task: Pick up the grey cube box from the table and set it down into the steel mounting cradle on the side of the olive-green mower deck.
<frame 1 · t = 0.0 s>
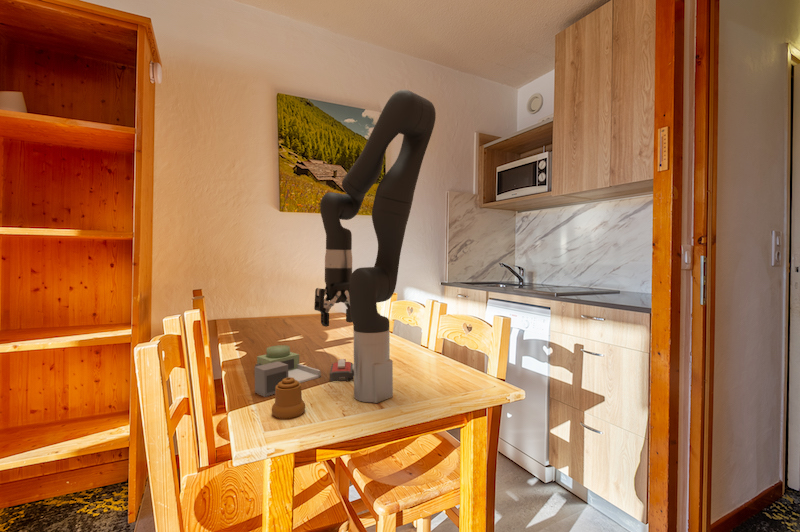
hand: (337, 324, 108), 17 cm above the table, tool pointing down, fingers open, 8 cm apart
ornamental finial: (288, 414, 89), on the table
grey cube box: (271, 391, 103), on the table
mower deck: (285, 373, 119), on the table
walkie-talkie: (345, 374, 120), on the table
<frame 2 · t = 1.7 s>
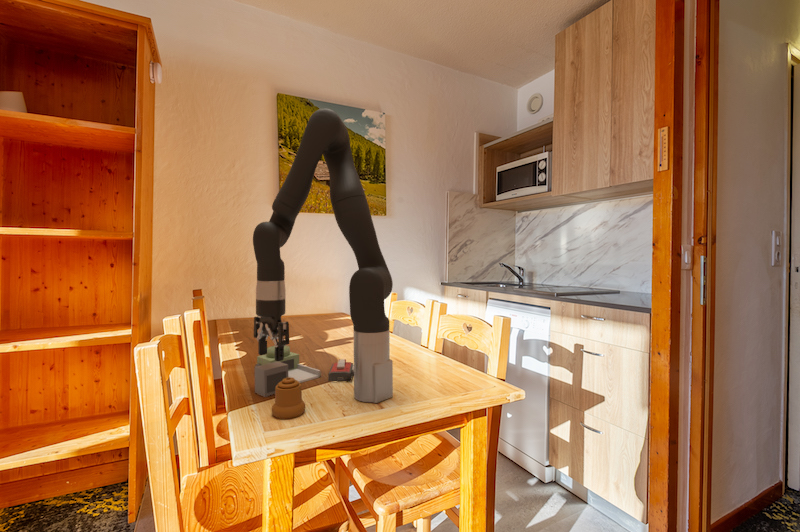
hand: (270, 357, 104), 9 cm above the table, tool pointing down, fingers open, 8 cm apart
nothing on the table moved.
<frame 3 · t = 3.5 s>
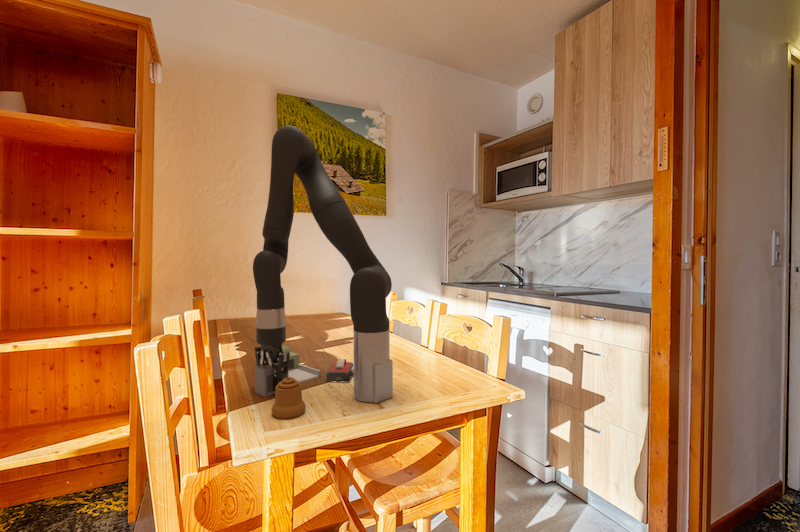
hand: (272, 387, 103), 1 cm above the table, tool pointing down, fingers closed on grey cube box, 5 cm apart
grey cube box: (271, 391, 104), on the table, touching gripper
everything else where it was.
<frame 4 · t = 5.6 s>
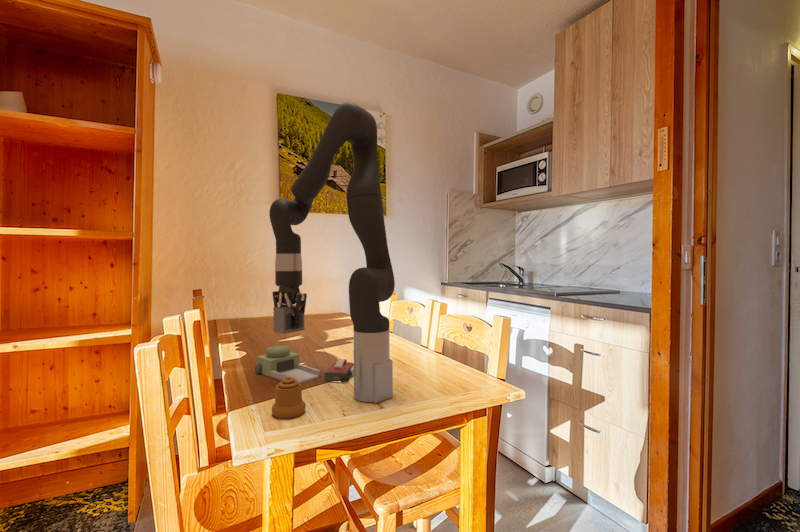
hand: (289, 327, 112), 15 cm above the table, tool pointing down, fingers closed on grey cube box, 5 cm apart
grey cube box: (289, 330, 112), point 14 cm above the table, touching gripper
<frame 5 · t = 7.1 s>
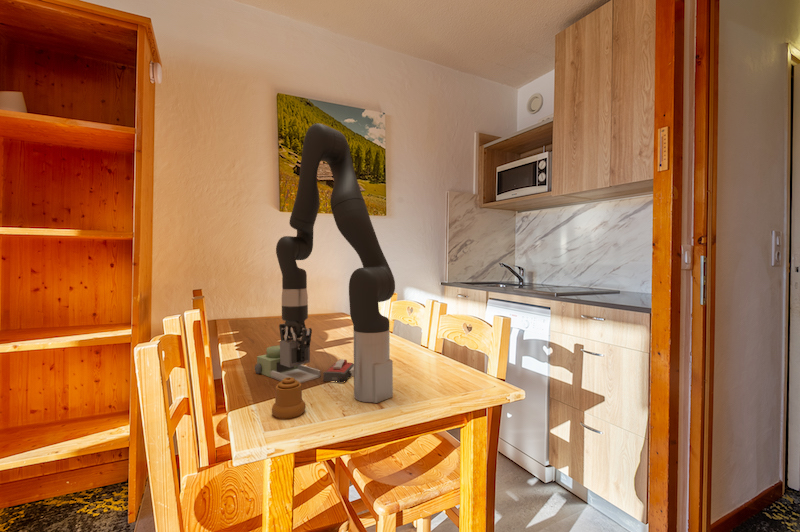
hand: (295, 360, 115), 5 cm above the table, tool pointing down, fingers closed on grey cube box, 5 cm apart
grey cube box: (295, 363, 115), point 4 cm above the table, touching gripper
when the fingers open (3 cm above the table, at t = 7.9 s): grey cube box drops 1 cm, resting on mower deck.
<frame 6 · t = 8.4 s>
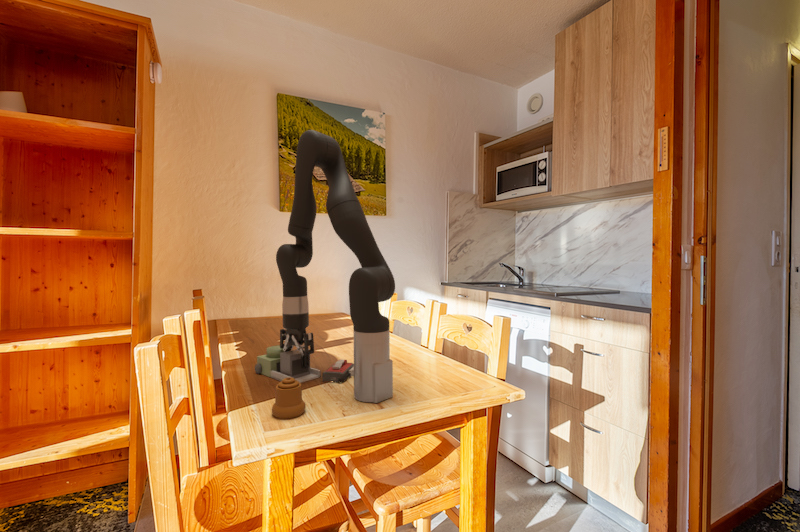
hand: (296, 365, 115), 4 cm above the table, tool pointing down, fingers open, 8 cm apart
grey cube box: (295, 375, 115), point 1 cm above the table, touching mower deck
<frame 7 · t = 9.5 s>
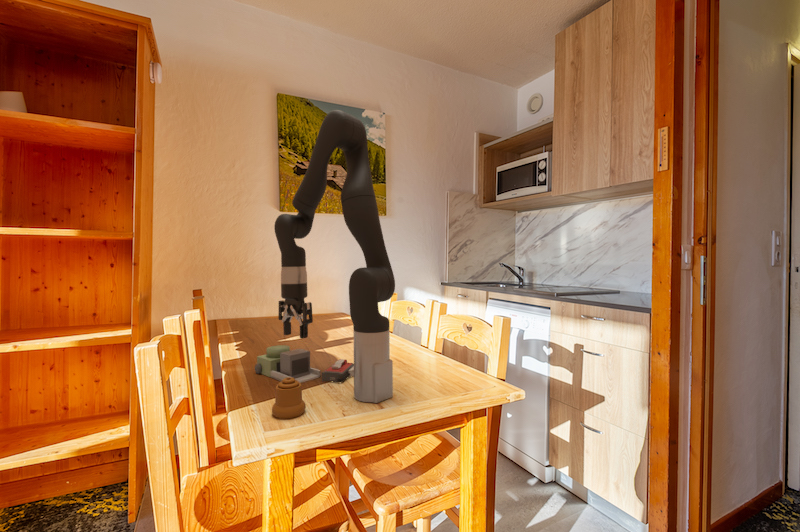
hand: (295, 336, 115), 12 cm above the table, tool pointing down, fingers open, 8 cm apart
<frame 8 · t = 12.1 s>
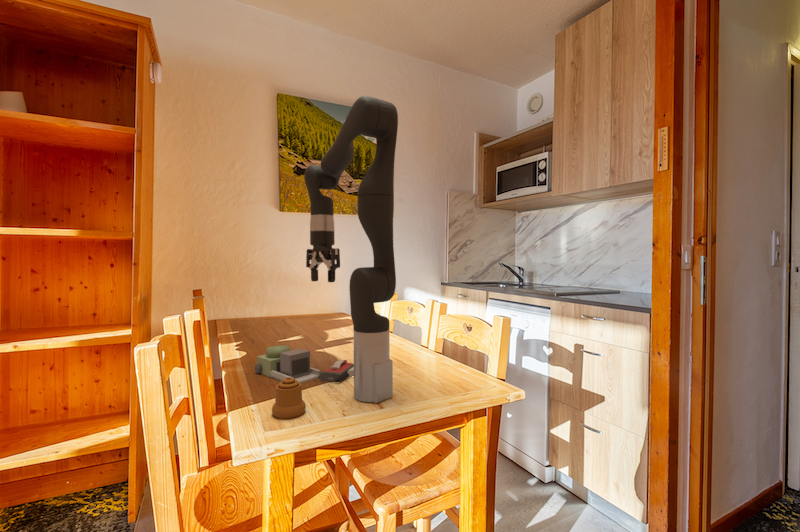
hand: (322, 281, 122), 28 cm above the table, tool pointing down, fingers open, 8 cm apart
at the end: grey cube box 0.0 cm from the target spot on the mower deck, point 0.6 cm above the mower deck's base; grey cube box tilted 0°; the gripper is holding nothing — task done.
